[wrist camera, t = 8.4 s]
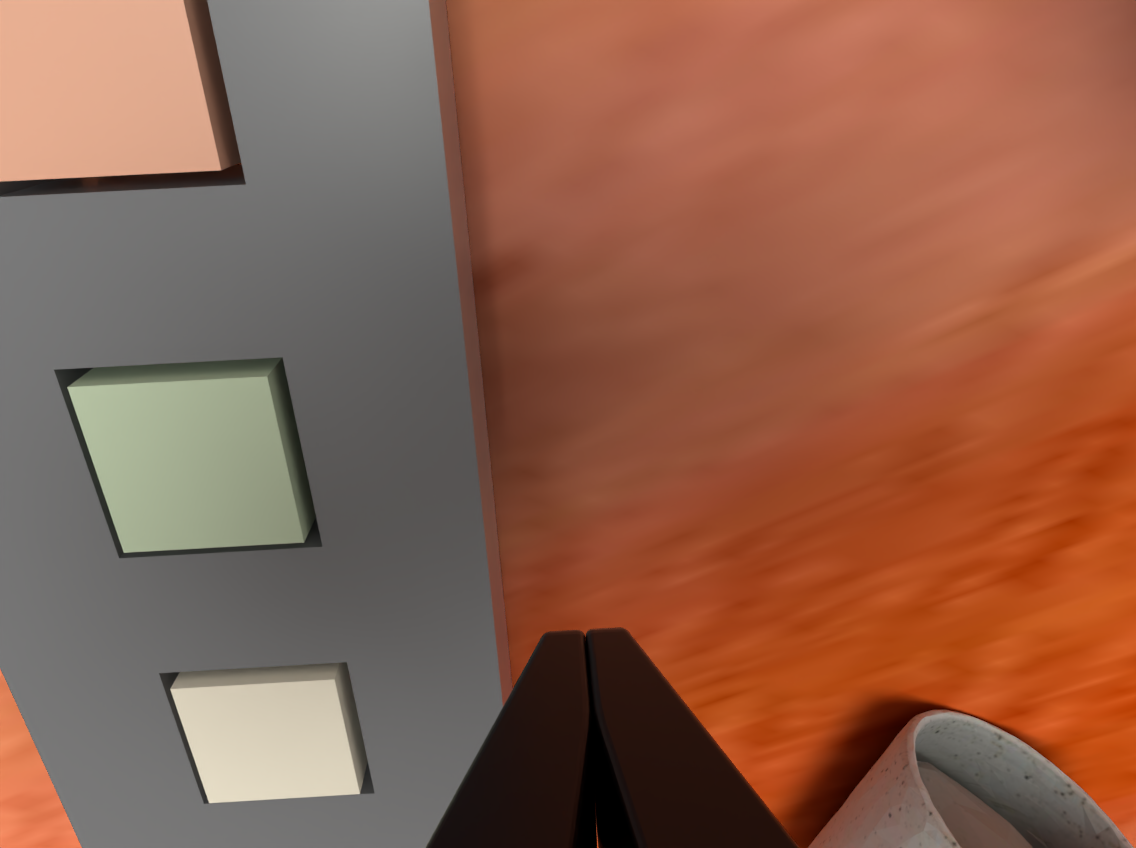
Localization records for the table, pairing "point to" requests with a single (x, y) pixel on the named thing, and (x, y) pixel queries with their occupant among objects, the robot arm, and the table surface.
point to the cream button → (273, 731)
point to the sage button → (196, 453)
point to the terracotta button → (111, 89)
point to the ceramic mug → (966, 794)
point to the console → (325, 425)
